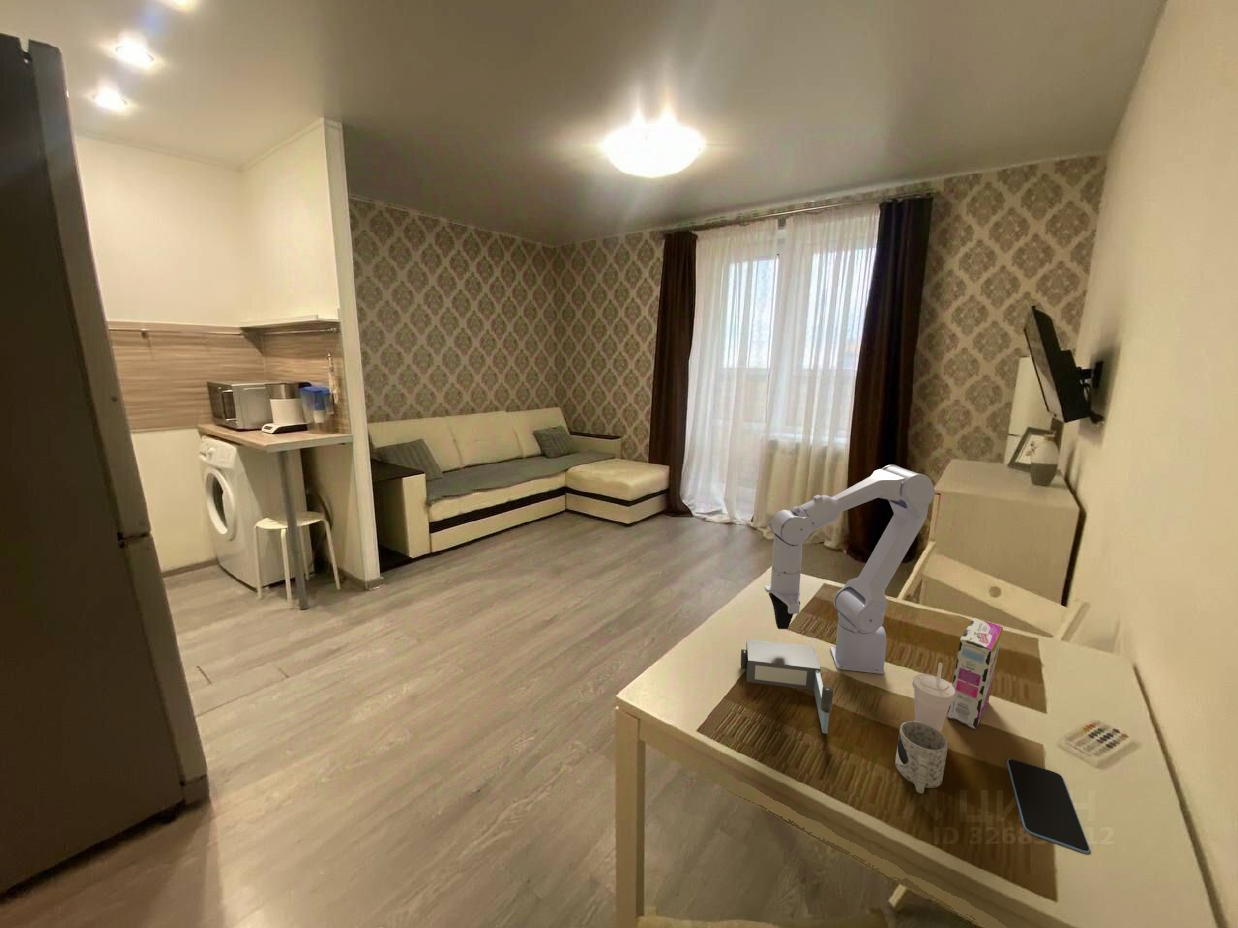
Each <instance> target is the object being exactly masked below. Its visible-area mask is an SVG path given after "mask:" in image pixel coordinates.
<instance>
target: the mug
mask: <svg viewBox="0 0 1238 928" xmlns="http://www.w3.org/2000/svg"><path fill="white" fill-rule="evenodd" d="M948 748H949V742H948V739H947V738H946V736H945V735H944V734H943V733H942V731H941V732H940V731H939V730H937V729H936V728H934V727H932V726H930V725H928V724H925V723H922V722H918V721H915V720H908V721H905V722H904V721H903V723H901V724H900V726H899V731H898V738H897V746H896V755H895V768H896V770H897V771H898V773H899V774H900V775H901V776H902V777H904V779H906V780H907V781H909V782H910V783H912V784H914V786H915V791H916V792H917V793H918V794H924V792H925V789H926V788H928V789H934V788H937V787H938V788H939V786H941V784H943V780H944V779H943V778H944V772H945V766H946V759H947V755H948Z"/></svg>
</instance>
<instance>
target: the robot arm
mask: <svg viewBox="0 0 1238 928" xmlns="http://www.w3.org/2000/svg"><path fill="white" fill-rule="evenodd" d="M936 494H937V492H936V489H935V487H934V484H933V482H932V480H931V478H930V477H929V476H928V475H925V474H922V473H917V472H915V471H911V470H909V469H906V468H903V467H900V466H899V465H896V464H888V465H885V466H884V467H882V468H879V469H876V470H873V472H872V473H871V475H870V476H868V477H866V478H864V479H863V480H862V481H859V482H857V483H855V484H854V485H853V486H850V487H848V488H847V489H844V490H843V491H841V492H839V493H837V494H835V495H833V496H829V495H826V494H823V495H820V494H816V495H814V496H813V499H811V500H809V501H807V502H805V503H803V504H801V505H799V506H797V505H795V506H793V507H792V509H791V510H789V509H782V510H779V511H778V512H776V513H775V514H774V516H773V517H772V518H771V521H769V522H768V526H769V530H770V531H771V532H772V533H773V541H772V543H773V544H772V559H771V577H770V583H769V585H768V584H767V585H766V584H765V586H764V591H765V592H766V593H768V596H769V598H770V600H771V604H772V608H773V615H774V620H775V625H776V628H777V629H778V630H788V629H789V627H790V624H791V621H792V620H793V617H794V615H795V614H796V615H797V614H798V615H799V614H800V609H801V608H800V606H801V601H800V595H801V587H800V586H801V572H802V561H803V560H802V558H803V545H804V543H805V542H806V541H807V540H808V539H809V536H810V535H811V534H813V533H814V532H815V531H818V530H819V529H821V528H824V527H826V526H828V525H830V524H833V523H834V522H837V521H838V520H839V519H840V517H841V513H843V512H845V511H846V510H850V509H852V508H855V507H857V506H859V505H860V506H861V505H862V504H864V503H868V502H870V501H874V500H875V499H877V498H879V499H884V500H887V501H888V502H889V505H890V507H891V509H892V512H893V515H892V517H891V518H890V521H889V522H888V524H887V526H886V528H885V530H884V531H883V533H882V535H881V537H880V538H879V540H878V542H877V544H876V545H875V547H874V549H873V551H872V552H871V554H870V556H869V558H868V560H867V562H866V563H865V565H864V567H863V568H862V570H861V572H860V574H859V576H858V577H855V578H851V579H848V580H847V581H846V583H845V584H844V586H843V587H842V588H840V589H839V590H838V591H837V592H836V593H835V595H834V597H833V606H834V608H835V609H836V611H837V617H838V620H837V630H836V631H837V632H836V641H835V646H830V647H829V649H830V653H831V655H832V659H833V662H834V665H835V667H836V669H838V670H842V671H843V670H845V671H855V672H862V673H863V672H864V673H870V674H880V675H884V674H885V670H884V669H885V662H886V661H885V660H886V654H887V653H886V652H887V643H888V642H887V634H886V631H885V628H884V626H882V625H883V624H884V621H885V613H886V610H888V607H889V604H888V603H889V602H888V600H887V596H886V592H885V590H886V589H887V587H888V586H889V584H890V582H891V580H892V578H893V577H894V576H895V574H896V572H897V570H898V569H899V566H900V564H901V563H902V562H903V559H904V558H905V556H906V555H907V553H908V552H909V549H910V547H911V546H912V544H913V543H914V541H915V538H916V537H917V535H918V534H919V532H920V530H921V529H922V527H923V525H924V523H925V521H926V519H927V516H928V512H929V507H930V506H929V505H930V504H931V502H932V501H933V498H934V497H935V495H936Z"/></svg>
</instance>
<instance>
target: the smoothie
mask: <svg viewBox="0 0 1238 928" xmlns="http://www.w3.org/2000/svg"><path fill="white" fill-rule="evenodd" d="M942 670H943V663H942V662H938V667H937V673H936V675H932V674H927V673H922V674H916V675H915V676H914V677H913V679H912V683H911V686H912V687H913V691H914V692H913V694H914V695H913V696H914V697H913V699H914V721H918V722H922V723H925V724H928V725H930V726H932V727H934V728H936V729H937V730H939V731H940V732H941V733H942V729H943V727H944V723H945V721H946V717H947V713H948V709H949V707H950V704H951V701H952V700H954V698H955V689H954V687H953V686H952V684H951V683H950V682H948V681H947V680H945V679H943V678H942V677H941V676H942Z"/></svg>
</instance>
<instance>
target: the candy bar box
mask: <svg viewBox="0 0 1238 928" xmlns="http://www.w3.org/2000/svg"><path fill="white" fill-rule="evenodd" d="M1003 628H1004V627H1003V626H1001V625H998V624H997V623H992V622H989V621H985V620H982V619H980V618H975V617H973V618H972V620H971V621H970V623H969V625H968V626H967V627H966V629H965V631H964V633H963V634H962V636H961V637H960V639H959V646H958V652H957V656H956V662H955V667H954V673H953V679H952V684H951V685H952V686H953V687H954V689H955V698H954V700H952V701H951V704H950V707H949V709H948V712H947V715H946V717H947V718H948V719H951V720H952V721H955V722H957V723H958V724H961V725H963V726H966V727H967V728H970V729H973V730H977V729H978V727H979V724H980V721H981V719H982V716H983V714H984V713H985V710H986V708H987V706H988V703H989V700H990V696H991V695H990V694H991V690H992V685H993V679H994V674H995V669H996V664H997V660H998V655H999V649H1000V644H1001V640H1002V634H1003Z"/></svg>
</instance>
